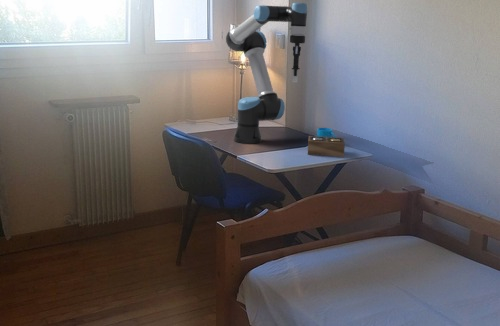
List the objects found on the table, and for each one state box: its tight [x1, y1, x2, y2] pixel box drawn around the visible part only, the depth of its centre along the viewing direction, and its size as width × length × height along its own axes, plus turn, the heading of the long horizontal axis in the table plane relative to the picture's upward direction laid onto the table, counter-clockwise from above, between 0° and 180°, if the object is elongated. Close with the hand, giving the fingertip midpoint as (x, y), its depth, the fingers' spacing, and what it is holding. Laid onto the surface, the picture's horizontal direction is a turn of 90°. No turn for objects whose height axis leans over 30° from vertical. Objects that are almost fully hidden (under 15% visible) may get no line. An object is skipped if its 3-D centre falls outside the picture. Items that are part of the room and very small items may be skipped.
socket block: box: [307, 135, 346, 158], centre depth 290 cm, size 12×18×7 cm, turn 84°
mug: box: [316, 127, 337, 138], centre depth 309 cm, size 12×8×8 cm
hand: (294, 82), depth 290 cm, fingers closed
